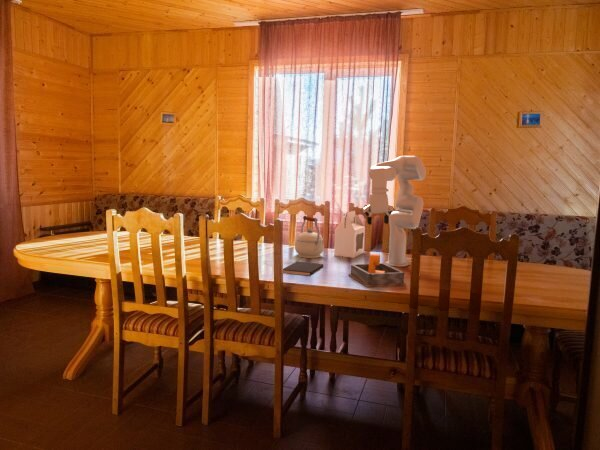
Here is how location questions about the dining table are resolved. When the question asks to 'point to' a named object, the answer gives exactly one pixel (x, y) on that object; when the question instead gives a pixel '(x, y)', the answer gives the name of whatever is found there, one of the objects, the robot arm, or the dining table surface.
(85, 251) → the dining table surface
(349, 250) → the gable box
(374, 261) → the bracket
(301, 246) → the kettle
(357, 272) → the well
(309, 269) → the hardcover book
